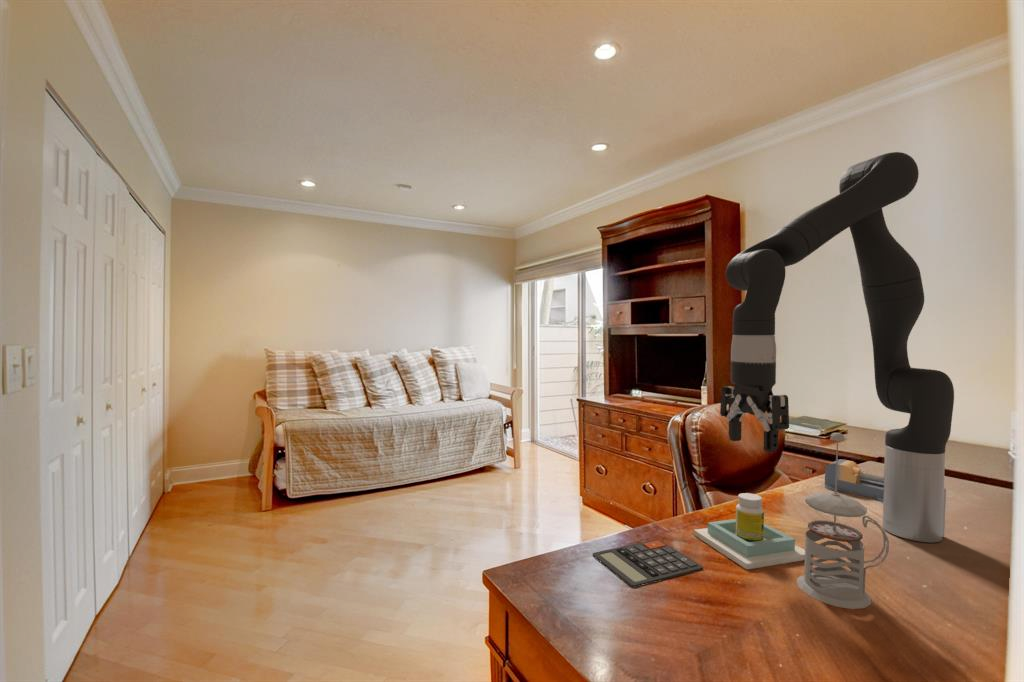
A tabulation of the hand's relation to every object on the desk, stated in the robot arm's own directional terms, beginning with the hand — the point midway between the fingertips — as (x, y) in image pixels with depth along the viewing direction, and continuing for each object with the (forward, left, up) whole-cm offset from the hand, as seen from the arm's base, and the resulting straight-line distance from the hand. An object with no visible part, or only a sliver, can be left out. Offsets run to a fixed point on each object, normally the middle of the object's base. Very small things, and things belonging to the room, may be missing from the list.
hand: (751, 445), depth 89 cm
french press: (-2, +16, -19) cm, 25 cm away
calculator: (+22, 0, -20) cm, 30 cm away
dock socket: (0, 0, -19) cm, 19 cm away
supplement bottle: (0, 0, -18) cm, 18 cm away
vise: (-51, -15, -19) cm, 56 cm away
